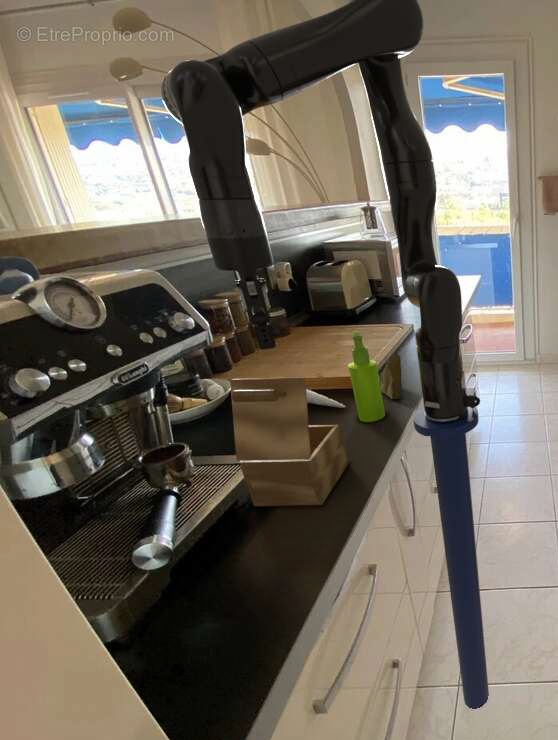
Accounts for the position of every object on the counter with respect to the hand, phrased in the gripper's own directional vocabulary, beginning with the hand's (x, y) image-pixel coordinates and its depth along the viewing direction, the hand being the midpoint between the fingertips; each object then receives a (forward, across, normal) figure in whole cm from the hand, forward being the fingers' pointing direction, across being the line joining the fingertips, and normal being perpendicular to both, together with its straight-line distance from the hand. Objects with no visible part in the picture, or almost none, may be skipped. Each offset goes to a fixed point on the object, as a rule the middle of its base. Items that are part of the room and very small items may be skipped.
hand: (266, 341), depth 71 cm
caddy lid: (+11, -5, +2) cm, 12 cm away
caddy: (+26, -2, 0) cm, 26 cm away
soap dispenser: (+26, +19, -17) cm, 37 cm away
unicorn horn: (+26, +36, -5) cm, 45 cm away
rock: (+26, +30, -24) cm, 47 cm away
